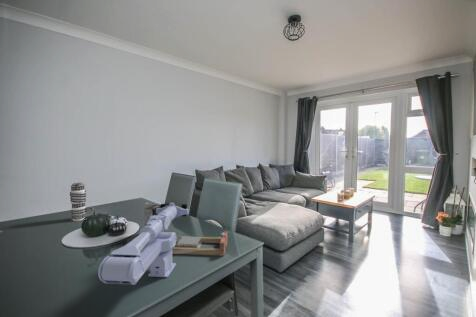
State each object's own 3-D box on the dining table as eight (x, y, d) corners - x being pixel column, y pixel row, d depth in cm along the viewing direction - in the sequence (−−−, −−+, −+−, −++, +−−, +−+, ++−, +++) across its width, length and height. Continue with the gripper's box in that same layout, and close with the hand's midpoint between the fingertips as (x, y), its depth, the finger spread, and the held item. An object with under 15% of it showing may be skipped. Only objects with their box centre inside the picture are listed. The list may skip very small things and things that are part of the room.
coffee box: (155, 238, 121) (154, 209, 120) (144, 237, 122) (143, 208, 121) (163, 231, 130) (163, 204, 129) (153, 230, 131) (153, 204, 130)
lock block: (197, 252, 105) (197, 244, 105) (177, 251, 106) (177, 243, 106) (201, 244, 113) (201, 237, 113) (182, 243, 114) (182, 236, 114)
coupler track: (223, 256, 101) (223, 243, 101) (170, 253, 103) (170, 241, 103) (227, 242, 116) (227, 231, 115) (181, 240, 118) (180, 229, 117)
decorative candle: (72, 217, 154) (71, 182, 152) (88, 216, 158) (87, 181, 156) (69, 222, 146) (67, 184, 144) (85, 220, 149) (84, 183, 148)
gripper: (184, 206, 94) (192, 198, 107) (151, 205, 95) (164, 197, 108) (184, 222, 95) (193, 212, 108) (151, 221, 96) (164, 211, 109)
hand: (178, 205), depth 108 cm, fingers open, 7 cm apart
